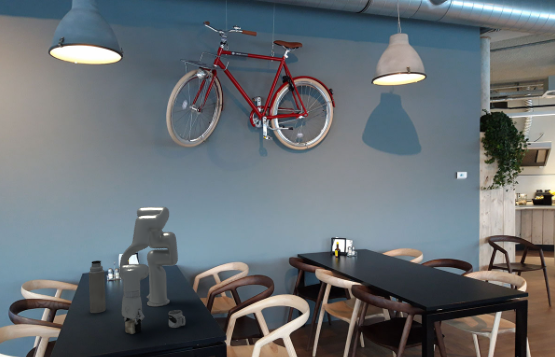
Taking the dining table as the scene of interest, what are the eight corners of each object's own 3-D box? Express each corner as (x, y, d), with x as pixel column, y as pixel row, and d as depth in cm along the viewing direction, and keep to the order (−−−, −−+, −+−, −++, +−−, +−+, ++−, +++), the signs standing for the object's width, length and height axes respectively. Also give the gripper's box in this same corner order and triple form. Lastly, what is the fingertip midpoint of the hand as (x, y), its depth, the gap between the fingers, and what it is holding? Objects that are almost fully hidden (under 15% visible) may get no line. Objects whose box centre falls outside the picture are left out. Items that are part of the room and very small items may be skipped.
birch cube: (125, 332, 207) (125, 321, 206) (134, 328, 211) (133, 318, 211) (132, 334, 204) (131, 323, 204) (140, 330, 208) (140, 320, 208)
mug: (166, 326, 213) (165, 313, 213) (176, 322, 219) (175, 309, 218) (180, 330, 208) (179, 316, 207) (190, 325, 213) (189, 312, 213)
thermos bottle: (87, 311, 239) (86, 261, 239) (102, 307, 245) (100, 258, 244) (93, 314, 234) (91, 263, 233) (107, 310, 239) (106, 260, 238)
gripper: (114, 293, 208) (115, 329, 209) (137, 298, 199) (138, 336, 199) (126, 289, 215) (128, 324, 215) (150, 294, 205) (151, 330, 206)
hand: (133, 329), depth 207 cm, fingers open, 6 cm apart
